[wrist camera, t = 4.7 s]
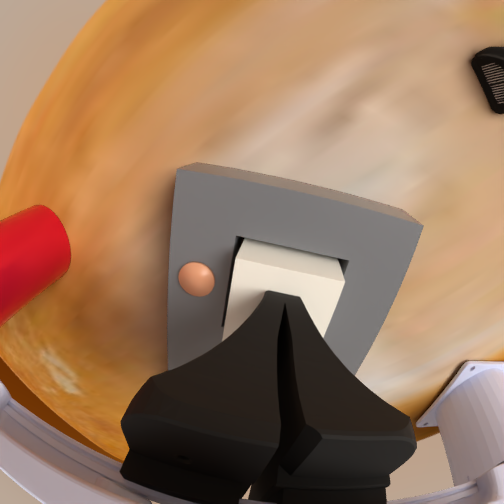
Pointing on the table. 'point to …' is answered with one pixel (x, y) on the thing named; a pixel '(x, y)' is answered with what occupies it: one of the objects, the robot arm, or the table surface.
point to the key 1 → (283, 281)
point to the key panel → (286, 234)
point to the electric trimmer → (491, 75)
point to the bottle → (30, 257)
